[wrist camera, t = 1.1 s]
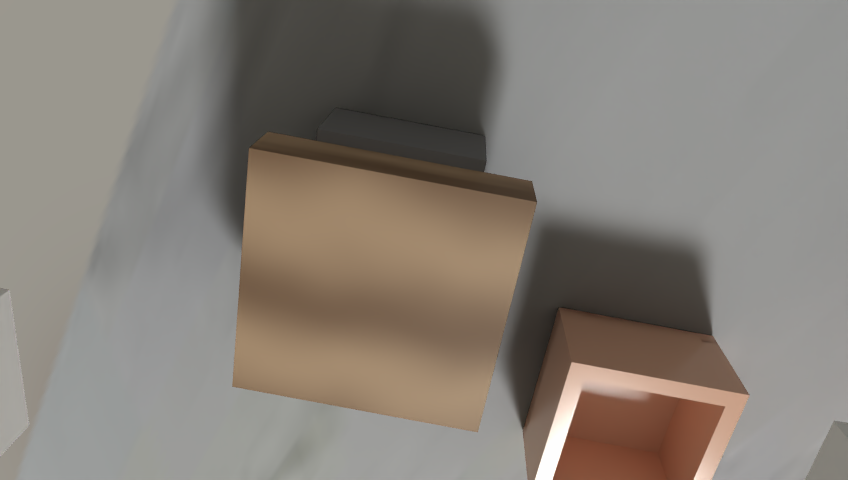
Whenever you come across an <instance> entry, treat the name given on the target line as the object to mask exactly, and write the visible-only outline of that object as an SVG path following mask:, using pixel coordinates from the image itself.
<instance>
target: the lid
mask: <svg viewBox="0 0 848 480" xmlns="http://www.w3.org/2000/svg"><path fill="white" fill-rule="evenodd" d="M536 204H537V200H536V196H535V192H534V188H533V184H532V181H528V180H522V179H517V178H512V177H507V176H501V175H496V174H491V173H485V172H480V171H475V170H469V169H464V168H459V167H453V166H448V165H443V164H437V163H432V162H427V161H421V160H416V159H411V158H405V157H400V156H395V155H389V154H384V153H379V152H374V151H368V150H363V149H358V148H352V147H347V146H342V145H336V144H331V143H326V142H320V141H315V140H310V139H304V138H299V137H294V136H288V135H283V134H278V133H272V132H267V133H266V134H265V135H263V136H262V137H261V138H260V139H259V140H258V141H257V142H255V143H254V144H253V145H252V146H251V147H250V148H249V155H248V170H247V184H246V198H245V213H244V227H243V242H242V256H241V270H240V285H239V299H238V314H237V328H236V343H235V357H234V371H233V386H232V387H238V388H243V389H248V390H254V391H259V392H264V393H270V394H275V395H281V396H286V397H291V398H297V399H302V400H307V401H313V402H318V403H323V404H329V405H334V406H340V407H345V408H350V409H356V410H361V411H366V412H372V413H377V414H383V415H388V416H393V417H399V418H404V419H409V420H415V421H420V422H425V423H431V424H436V425H442V426H447V427H452V428H458V429H463V430H468V431H474V432H478V429H479V425H480V422H481V418H482V414H483V410H484V406H485V402H486V398H487V394H488V391H489V387H490V383H491V379H492V375H493V371H494V367H495V363H496V359H497V356H498V352H499V348H500V344H501V340H502V336H503V332H504V328H505V325H506V321H507V317H508V313H509V309H510V305H511V301H512V297H513V293H514V290H515V286H516V282H517V278H518V274H519V270H520V266H521V262H522V259H523V255H524V251H525V247H526V243H527V239H528V235H529V231H530V228H531V224H532V220H533V216H534V212H535V208H536Z"/></svg>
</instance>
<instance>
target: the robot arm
mask: <svg viewBox="0 0 848 480" xmlns="http://www.w3.org/2000/svg"><path fill="white" fill-rule="evenodd" d="M28 426H29V420H28V413H27V406H26V399H25V393H24V386H23V379H22V372H21V365H20V358H19V352H18V344H17V337H16V331H15V324H14V317H13V310H12V303H11V296H10V290H9V289H2V288H0V456H1V455H2V454H3V453H4V452H5V451H6V450H7V449H8V448H9V447H10V445H12V443H13V442H14V441H15V440H16V439H17V438H18V437H19V436H20V435H21V434H22V433H23V432H24V430H25V429H26V428H27V427H28ZM805 480H848V423H845V422H839V421H834V422H833V424H832V426H831V428H830V430H829V432H828V434H827V436H826V438H825V440H824V442H823V444H822V446H821V448H820V451H819V453H818V455H817V457H816V459H815V461H814V463H813V465H812V467H811V469H810V471H809V473H808V475H807V477H806V479H805Z"/></svg>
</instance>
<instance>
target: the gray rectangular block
mask: <svg viewBox="0 0 848 480" xmlns="http://www.w3.org/2000/svg"><path fill="white" fill-rule="evenodd" d="M316 141H320V142H326V143H331V144H336V145H342V146H347V147H352V148H358V149H363V150H368V151H374V152H379V153H384V154H389V155H395V156H400V157H405V158H411V159H416V160H421V161H427V162H432V163H437V164H443V165H448V166H453V167H459V168H464V169H469V170H475V171H480V172H484V170H485V165H486V142H485V136H483V135H478V134H472V133H467V132H462V131H456V130H451V129H446V128H440V127H435V126H430V125H425V124H419V123H414V122H409V121H403V120H398V119H393V118H387V117H382V116H377V115H371V114H366V113H361V112H355V111H350V110H345V109H339V108H335V109H334V111H333V112H332V113H331V114H330V115H329V116H328V117H327V118H326V120H325V121H324V122H323V123H322V124H321V125H320V126H319V127H318V129H317V136H316Z"/></svg>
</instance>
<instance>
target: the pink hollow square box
mask: <svg viewBox="0 0 848 480" xmlns="http://www.w3.org/2000/svg"><path fill="white" fill-rule="evenodd" d="M749 396H750V395H749V394H748V392H747V390H746V389H745V387H744V386H743V384H742V382H741V381H740V379H739V377H738V376H737V374H736V373H735V371H734V369H733V368H732V366H731V364H730V363H729V361H728V360H727V358H726V356H725V355H724V353H723V351H722V350H721V348H720V347H719V345H718V343H717V342H716V340H715V339H714V337H713V336H711V335H705V334H700V333H695V332H689V331H684V330H679V329H673V328H668V327H663V326H657V325H652V324H646V323H641V322H636V321H630V320H625V319H620V318H614V317H609V316H604V315H598V314H593V313H588V312H582V311H577V310H572V309H566V308H561V307H559V308H558V311H557V315H556V318H555V322H554V325H553V329H552V332H551V335H550V339H549V342H548V346H547V349H546V353H545V356H544V360H543V363H542V366H541V370H540V373H539V377H538V380H537V384H536V387H535V390H534V394H533V397H532V401H531V404H530V408H529V411H528V414H527V418H526V421H525V425H524V428H523V438H524V448H525V458H526V469H527V479H528V480H712V478H713V475H714V473H715V471H716V469H717V467H718V464H719V462H720V460H721V458H722V455H723V453H724V451H725V449H726V447H727V444H728V442H729V440H730V438H731V435H732V433H733V431H734V429H735V427H736V424H737V422H738V420H739V418H740V416H741V413H742V411H743V409H744V407H745V404H746V402H747V400H748V398H749Z"/></svg>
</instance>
